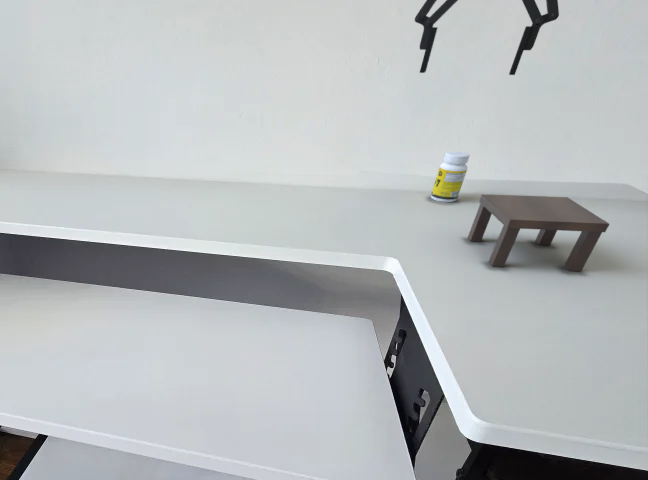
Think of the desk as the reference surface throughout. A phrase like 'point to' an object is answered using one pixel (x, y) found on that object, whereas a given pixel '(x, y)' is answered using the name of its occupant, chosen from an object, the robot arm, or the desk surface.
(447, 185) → the supplement bottle
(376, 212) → the desk surface
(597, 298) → the desk surface
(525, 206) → the small wooden table
